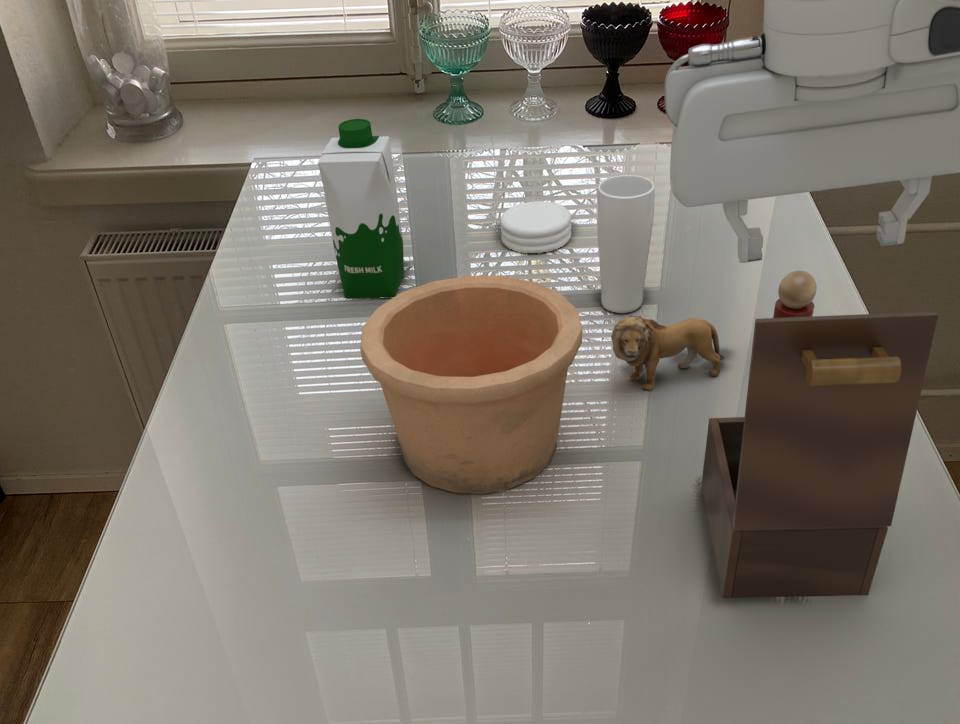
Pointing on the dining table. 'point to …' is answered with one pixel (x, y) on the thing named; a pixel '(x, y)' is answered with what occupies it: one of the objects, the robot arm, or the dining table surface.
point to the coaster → (536, 227)
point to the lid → (830, 419)
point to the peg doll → (796, 296)
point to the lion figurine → (664, 344)
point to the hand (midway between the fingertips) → (818, 250)
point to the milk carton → (363, 211)
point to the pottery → (474, 377)
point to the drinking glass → (624, 239)
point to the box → (778, 538)
